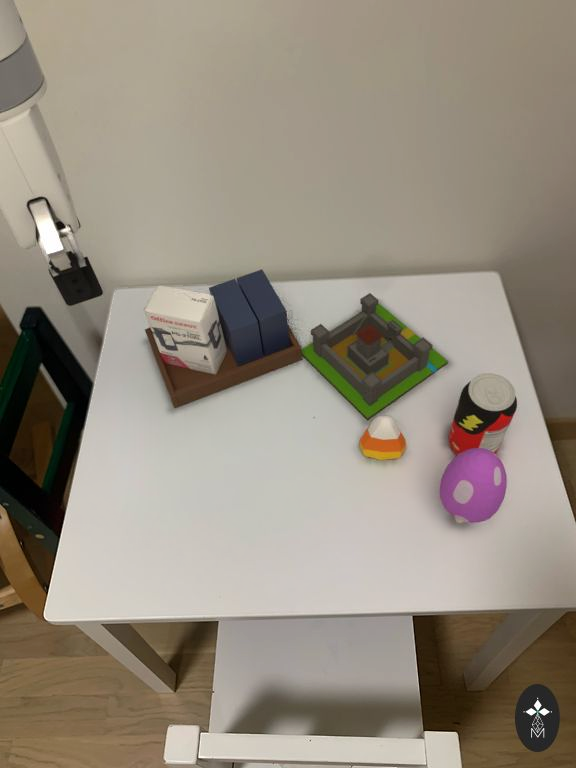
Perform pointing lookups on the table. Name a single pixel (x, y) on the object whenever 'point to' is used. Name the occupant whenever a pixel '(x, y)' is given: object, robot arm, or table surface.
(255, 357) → the matching cartons
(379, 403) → the castle model
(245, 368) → the tray
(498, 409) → the beverage can
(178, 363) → the ink box
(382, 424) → the candy corn
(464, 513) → the toy
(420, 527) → the table surface
